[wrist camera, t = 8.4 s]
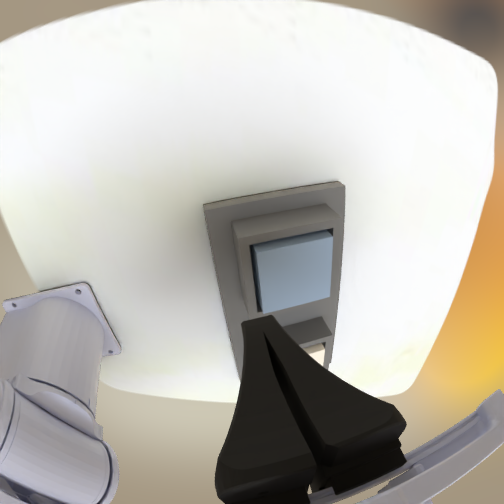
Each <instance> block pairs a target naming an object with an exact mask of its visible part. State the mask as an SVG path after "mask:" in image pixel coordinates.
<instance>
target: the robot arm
mask: <svg viewBox="0 0 504 504" xmlns="http://www.w3.org/2000/svg"><path fill="white" fill-rule="evenodd" d="M76 289H79V290H80V291H81V292H79V291H77V290H76ZM14 303H15V304H14ZM2 305H3V308H4V309H5V311H6V314H5V316H4V318H3V321H2V322H1V325H0V504H110V502H111V501H112V499H113V498H114V495H115V493H116V490H117V487H118V483H119V464H118V459H117V456H116V454H115V452H114V450H113V449H112V447H111V446H110V445H109V444H108V443H107V442H105V441H103V440H102V436H103V435H102V434H103V427H102V426H101V425H99V424H98V423H97V422H96V421H95V414H96V401H97V392H98V381H99V374H100V366H101V359H102V357H103V356H109V355H116V354H120V353H121V347H120V345H119V343H118V342H117V340H116V338H115V336H114V334H113V333H112V331H111V329H110V327H109V325H108V323H107V321H106V319H105V317H104V315H103V313H102V311H101V309H100V307H99V305H98V303H97V301H96V299H95V297H94V295H93V293H92V291H91V289H90V287H89V285H87V284H86V283H80V284H75V285H71V286H66V287H62V288H57V289H52V290H48V291H43V292H39V293H34V294H29V295H25V296H21V297H16V298H11V299H7V300H4V302H3V304H2ZM241 328H242V334H243V342H244V352H243V368H242V377H241V384H240V390H239V395H238V400H237V404H236V408H235V412H234V416H233V419H232V422H231V425H230V428H229V431H228V434H227V437H226V440H225V443H224V445H223V447H222V450H221V452H220V454H219V457H218V461H217V466H216V472H215V488H216V492H217V496H218V498H219V499H220V500H222V501H223V502H224V503H225V504H332V503H335V502H338V501H340V500H343V499H346V498H348V497H351V496H353V495H355V494H358V493H360V492H362V491H365V490H367V489H370V488H372V487H374V486H376V485H378V484H381V483H383V482H385V481H387V480H389V479H391V478H393V477H395V476H397V475H399V474H401V473H403V472H404V471H406V472H404V473H403V474H401V475H400V476H398V477H396V478H394V479H393V480H391V481H389V483H388V485H386V486H385V487H384V488H382V489H381V490H379V491H378V494H377V495H375V496H372V497H370V498H368V499H365V500H363V501H360V502H358V503H355V504H433V502H432V500H431V498H432V497H434V496H435V495H437V494H438V493H440V492H441V491H443V490H444V489H446V488H447V487H449V486H450V485H452V484H453V483H455V482H456V481H457V480H459V479H460V478H462V477H463V476H464V475H466V474H467V473H468V472H470V471H471V470H472V469H473V468H475V467H476V466H477V465H479V464H480V463H481V462H482V461H483V460H485V459H486V458H487V457H488V456H490V455H491V454H492V453H493V452H494V451H495V450H496V449H497V448H499V447H500V446H501V445H502V444H503V443H504V394H503V393H502V391H501V390H500V389H498V390H497V391H495V392H494V393H493V394H492V395H490V396H489V397H488V398H487V399H485V400H484V401H483V402H482V403H481V404H480V405H479V406H478V408H477V409H476V411H474V412H473V413H472V414H470V415H469V416H467V417H466V418H464V419H463V420H462V421H460V422H459V423H457V424H456V425H454V426H453V427H451V428H449V429H448V430H447V431H445V432H443V433H442V434H440V435H438V436H437V437H435V438H434V439H432V440H430V441H428V442H427V443H425V444H423V445H422V446H420V447H418V448H416V449H414V450H412V451H411V452H409V453H407V454H405V455H404V454H403V453H402V451H401V449H400V447H401V443H400V441H399V439H398V438H399V437H400V435H401V434H402V432H403V431H404V430H405V427H406V425H407V424H406V421H405V419H404V418H403V417H402V415H401V414H400V412H399V411H398V410H397V409H396V407H395V406H394V405H392V404H390V403H387V402H385V401H382V400H380V399H377V398H375V397H373V396H371V395H369V394H367V393H365V392H363V391H361V390H359V389H357V388H355V387H354V386H352V385H350V384H348V383H347V382H345V381H343V380H342V379H340V378H339V377H337V376H336V375H334V374H333V373H331V372H330V371H328V370H327V369H326V368H324V367H323V366H322V365H321V364H319V363H318V362H317V361H316V360H315V359H313V358H312V357H311V356H310V355H309V354H308V353H307V352H306V351H304V350H303V349H302V348H301V347H300V346H299V345H298V344H297V343H296V342H295V341H294V340H293V339H292V338H291V336H290V335H289V334H288V333H287V332H286V331H285V330H284V329H283V327H282V326H281V325H280V324H279V322H278V321H277V320H276V318H275V317H274V316H273V315H268V316H264V317H259V318H255V319H251V320H247V321H243V322H242V323H241ZM111 350H112V351H111ZM408 469H409V470H408ZM407 470H408V471H407ZM309 484H310V487H311V490H312V494H308V493H307V491H308V488H309Z"/></svg>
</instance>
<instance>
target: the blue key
mask: <svg viewBox="0 0 504 504" xmlns="http://www.w3.org/2000/svg"><path fill="white" fill-rule="evenodd" d="M250 247H251V256H252V264H253V272H254V280H255V289H256V297H257V299H258V302H259V304H260V307H261V309H262V312H263V314H265V313H269V312H273V311H277V310H282V309H285V308H289V307H293V306H297V305H301V304H305V303H309V302H313V301H316V300H320V299H324V298H327V297H330V287H331V271H332V251H333V236H332V235H331V234H330V233H329V232H328V231H327V230H326V229H325V230H320V231H315V232H310V233H305V234H300V235H295V236H290V237H285V238H281V239H276V240H271V241H266V242H261V243H256V244H251V245H250Z"/></svg>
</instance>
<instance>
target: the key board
mask: <svg viewBox="0 0 504 504" xmlns="http://www.w3.org/2000/svg"><path fill="white" fill-rule="evenodd" d="M203 207H204V213H205V218H206V223H207V229H208V234H209V239H210V244H211V249H212V254H213V259H214V264H215V269H216V274H217V279H218V284H219V289H220V293H221V298H222V303H223V308H224V312H225V317H226V321H227V326H228V330H229V335H230V339H231V344H232V348H233V352H234V357H235V361H236V365H237V370H238V374H239V378H240V382H241V377H242V368H243V352H244V342H243V334H242V328H241V323H242V322H243V321H247V320H251V319H255V318H259V317H264V316H268V315H273V316H274V317H275V318H276V320H277V321H278V322H279V324H280V325H281V326H282V327H283V329H284V330H285V331H286V332H287V333H288V334H289V335H290V336H291V338H292V339H293V340H294V341H295V342H296V343H297V344H298V345H299V346H300V347H301V348H306V347H309V346H312V345H316V344H319V343H322V345H323V346H324V348H325V354H324V363H323V367H324V368H326V369H327V370H328V367H329V363H331V359H332V351H333V344H334V336H335V328H336V319H337V310H338V301H339V290H340V279H341V267H342V253H343V236H344V216H345V185H343V184H342V183H340V182H332V183H325V184H318V185H312V186H305V187H299V188H293V189H287V190H281V191H275V192H269V193H263V194H257V195H252V196H246V197H241V198H235V199H230V200H225V201H220V202H215V203H209V204H204V205H203ZM325 229H326V230H327V231H328V232H329V233H330V234H331V235H332V236H333V251H332V271H331V287H330V297H327V298H324V299H320V300H316V301H313V302H309V303H305V304H301V305H297V306H293V307H289V308H285V309H282V310H277V311H273V312H269V313H265V314H263V312H262V309H261V307H260V304H259V302H258V299H257V297H256V289H255V280H254V272H253V264H252V256H251V247H250V245H251V244H256V243H261V242H266V241H271V240H276V239H281V238H285V237H290V236H295V235H300V234H305V233H310V232H315V231H320V230H325Z"/></svg>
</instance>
